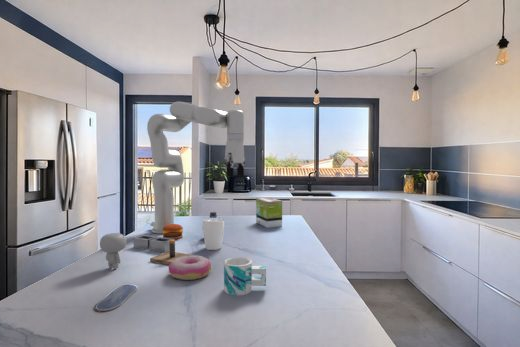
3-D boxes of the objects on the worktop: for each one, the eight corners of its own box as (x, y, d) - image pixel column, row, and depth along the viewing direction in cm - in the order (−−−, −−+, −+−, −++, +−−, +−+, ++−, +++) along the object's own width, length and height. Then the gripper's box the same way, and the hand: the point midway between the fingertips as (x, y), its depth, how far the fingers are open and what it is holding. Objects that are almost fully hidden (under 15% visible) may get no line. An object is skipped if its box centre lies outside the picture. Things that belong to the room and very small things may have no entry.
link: (149, 249, 132) (149, 240, 132) (159, 246, 137) (159, 237, 137) (164, 252, 129) (164, 242, 128) (174, 248, 134) (174, 239, 134)
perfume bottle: (213, 239, 149) (213, 214, 148) (204, 237, 153) (203, 212, 152) (222, 237, 154) (222, 212, 153) (213, 235, 157) (213, 211, 157)
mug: (226, 283, 97) (226, 256, 97) (265, 284, 97) (265, 256, 96) (222, 295, 89) (222, 265, 88) (266, 295, 89) (266, 266, 88)
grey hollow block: (133, 247, 136) (133, 237, 136) (144, 243, 141) (144, 234, 141) (147, 249, 132) (147, 240, 132) (158, 246, 138) (158, 236, 138)
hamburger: (163, 241, 146) (163, 227, 146) (162, 236, 155) (161, 223, 155) (184, 239, 149) (184, 225, 149) (181, 235, 158) (181, 221, 158)
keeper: (150, 261, 117) (150, 242, 117) (168, 254, 126) (168, 236, 126) (176, 266, 112) (176, 246, 112) (193, 258, 121) (193, 239, 121)
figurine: (130, 267, 111) (130, 233, 111) (110, 273, 105) (110, 237, 104) (116, 263, 115) (115, 230, 115) (96, 269, 109) (95, 234, 108)
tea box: (255, 222, 188) (255, 197, 187) (270, 221, 192) (270, 197, 192) (266, 228, 174) (266, 201, 174) (282, 226, 179) (283, 200, 178)
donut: (168, 284, 97) (168, 268, 96) (168, 269, 110) (168, 255, 109) (213, 280, 100) (213, 264, 100) (208, 266, 113) (208, 252, 113)
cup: (220, 251, 130) (220, 222, 129) (199, 250, 132) (199, 221, 131) (226, 245, 139) (226, 218, 138) (207, 244, 141) (207, 217, 140)
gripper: (237, 139, 153) (237, 175, 154) (217, 137, 137) (218, 177, 138) (251, 139, 150) (251, 175, 151) (233, 136, 134) (233, 177, 135)
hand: (235, 176), depth 144 cm, fingers open, 9 cm apart
